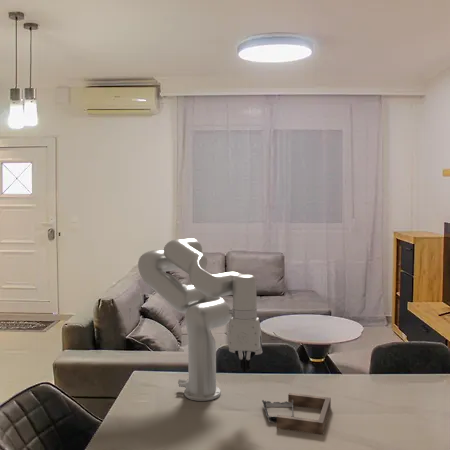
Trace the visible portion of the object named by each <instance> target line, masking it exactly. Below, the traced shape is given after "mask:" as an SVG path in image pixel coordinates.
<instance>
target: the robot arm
mask: <svg viewBox="0 0 450 450" xmlns="http://www.w3.org/2000/svg"><path fill="white" fill-rule="evenodd" d="M207 265H208V258H207V256H206V255H205V253H203V247H202V244H201V243H200V242H199V240H197V239H196V238H194V237H193V238H192V237H189V238H188V237H187V238H177V239H172V240H169V241H168V242H167V243H165V245H164V247H163V248H161V249H154V250H149V251H146V252H144V253H142V255H140V256H139V258H138V262H137V268H138V272H139V275H140V277H141V279H142V281H143V282H144V283H145V284H146V285H147V286H148V287H149V288H150V289H152V290H153V291H155V292H156V293H157V294H158V295H159V296H160V297H161V298H162V299H164V301H165V302H166V303H167V304H169V306H170V307H172V308H173V309H174V310H175V311H176V312H178V313H180V314H184V322H185V324H184V325H185V327H186V333H187V353H188V354H187V355H188V367H187V368H188V371H187V372H188V378H187V379H182V378H179V379H178V380H177V381H178V382H177V383H178V387H179V388H185V389H184V390H183V391H184V393H183V394H184V397H185V398H187V399H189V400H191V401H196V402H206V401H207V402H208V401H212V400H214V399H218V398H219V397H221V394H222V391H221V388H219V386H217V345H216V339H215V337H214V335H213V333H212V330H214V329H217V328H221V327H224V326H226V325H228V324H229V327H228V341H227V343H228V346H227V347H228V351H229V352H230V353H232V354H233V353H234V354H235V355H236V356H237V357H238V358H239V360H240V369H241V372H242V373H248V372H249V371H250V370H251V368H252V358H253V357H254V356H255V355H257V356H258V355H262V354H263V348H262V346H263V337H262V329H261V328H262V327H261V323H260V318H259V317H258V313H257V312H258V308H257V307H258V306H257V303H258V302H257V297H258V296H257V277H255V275H253V274H248V273H246V274H243V273H240V272H236V271H226V272H221V273H214V274H213V273H210V272H208V271H206V268H207ZM176 270H182V271H184V273H186V274H188V276H189V277H188V278H189V280H190V284H186V283H185V284H184V283H183V282H181V281H180V280H179V279H178V278H177V277H176V276H174V275H172V274H170V273H167V272H170V271H176ZM226 296H232V308H231V306H230V305H229V303H228V302H227V301H226V300H225V299H224V298H222V297H226ZM245 352H246V353H245Z"/></svg>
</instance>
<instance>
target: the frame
mask: <svg viewBox="0 0 450 450" xmlns="http://www.w3.org/2000/svg"><path fill="white" fill-rule="evenodd" d="M287 397H288V398H287V402H290V403H292V399H293V407H295V406H296V407H300V408H301V407H303V408H310V409H318V410H321V411H320V414H319V417H318V419H314V418H313V419H311V418H307V417H306V418H305V417H299V416H298V417H297V416H294V417H291V416H292V415H282V414H277V416H276V417H277V423H276V429H278V430H279V429H280V430H286V431H293V432H300V433H307V434H314V435H322V436H323V435H324V432H325V428H326V426H327V422H328V420H329V419H328V418H329V415H330V412H331V409H332V407H331V405H332V404H331V401H332V399H331V397H329V396H320V395H310V394H302V393H293V392H288V395H287Z"/></svg>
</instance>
